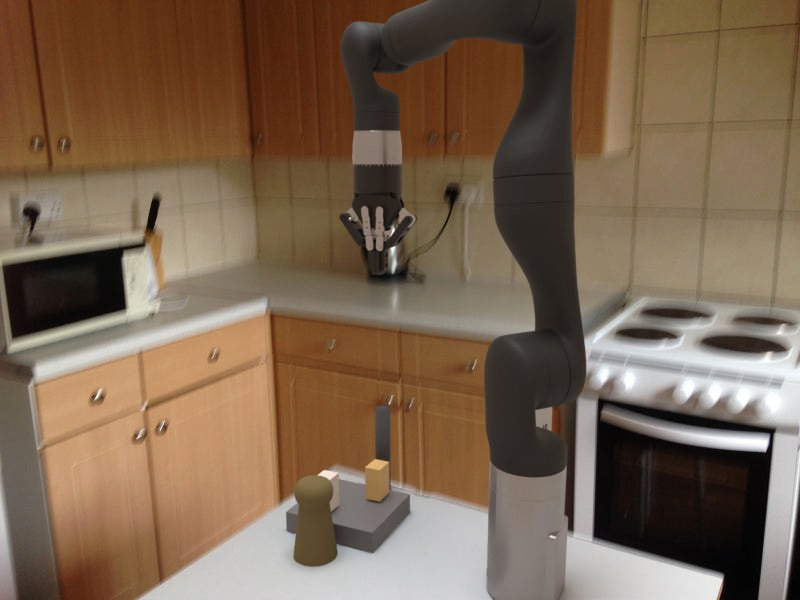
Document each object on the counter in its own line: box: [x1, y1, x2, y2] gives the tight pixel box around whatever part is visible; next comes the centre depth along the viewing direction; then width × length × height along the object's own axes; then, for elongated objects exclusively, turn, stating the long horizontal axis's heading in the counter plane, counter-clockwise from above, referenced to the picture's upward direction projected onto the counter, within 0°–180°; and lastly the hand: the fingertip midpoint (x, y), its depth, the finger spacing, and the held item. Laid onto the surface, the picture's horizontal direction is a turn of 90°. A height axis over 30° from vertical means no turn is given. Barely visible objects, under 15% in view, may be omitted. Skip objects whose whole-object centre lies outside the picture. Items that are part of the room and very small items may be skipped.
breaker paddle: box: [364, 458, 389, 502], centre depth 109 cm, size 2×3×5 cm
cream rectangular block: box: [317, 469, 340, 512], centre depth 105 cm, size 2×3×5 cm
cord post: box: [374, 405, 392, 490], centre depth 117 cm, size 2×2×14 cm
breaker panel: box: [285, 478, 411, 554], centre depth 108 cm, size 14×12×3 cm
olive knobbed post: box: [292, 474, 338, 567], centre depth 99 cm, size 6×6×11 cm
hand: (378, 273), depth 115 cm, fingers closed
